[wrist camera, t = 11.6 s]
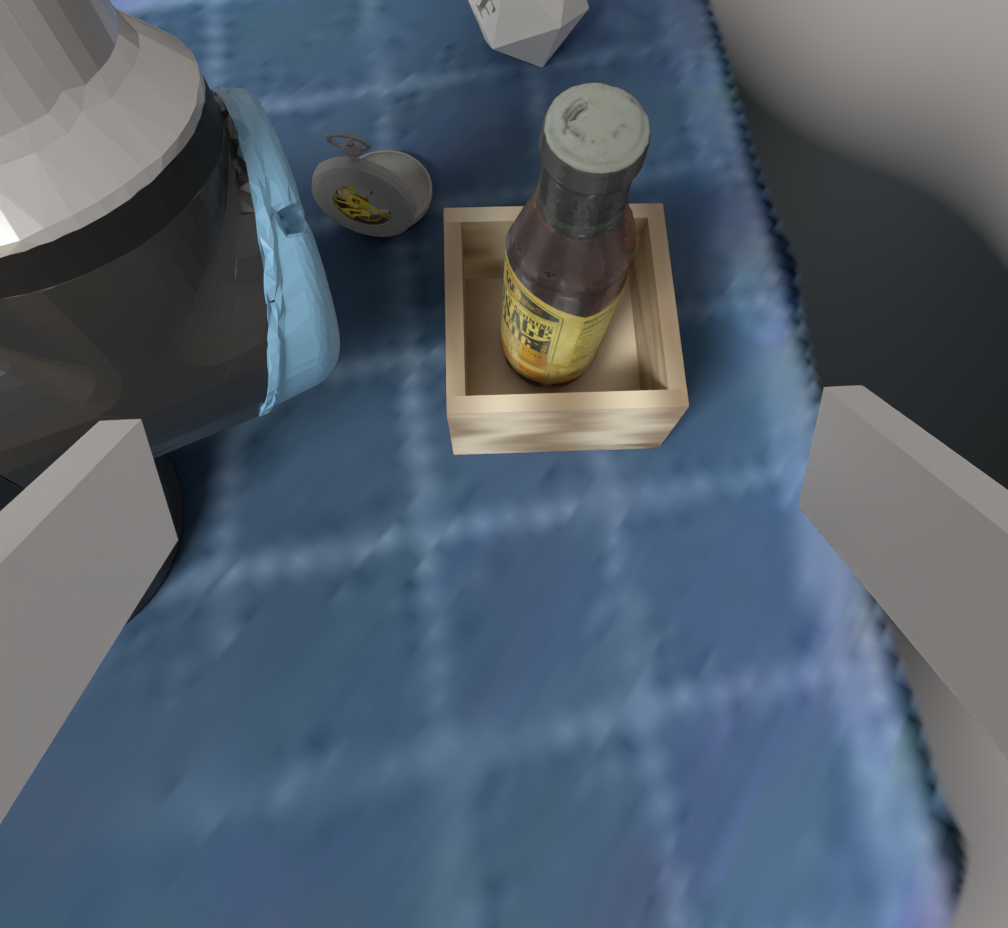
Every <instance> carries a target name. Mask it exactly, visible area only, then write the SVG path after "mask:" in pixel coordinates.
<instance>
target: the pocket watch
mask: <svg viewBox="0 0 1008 928" xmlns="http://www.w3.org/2000/svg"><path fill="white" fill-rule="evenodd" d="M333 137H343V138H348V139H346V141H345V142H344V143H343V144H339V143H337V142H335V141H333V140H332V139H331V138H333ZM326 139H327V141H328V142H329V143H331V144H332V145H335V146H337V147H340V148H341V149H342V151H343V152H344V153H346V154H347V155H349V157H345V156H339V157H334V158H329V159H327V160H325V161H323V162H321V163H319V165H318V166H317V168H316V169H315V171H314V173H313V177H312V193H313V196H314V199H315V201H316V203H317V204H318V206H319V207H320V208H321V209H322V211H323V212H324V213H325V214H326V215H328V216H329V217H330V218H331V219H332V220H334V221H335V222H337V223H338V224H340V225H342V226H344V227H346V228H348V229H350V230H352V231H355V232H358V233H361V234H364V235H369V236H375V237H390V236H395V235H398V234H401V233H403V232H404V231H406V230H407V229H408V227H410V226H412V225H413V224H415V223H416V222H418V221H419V220H420V219H421V218H422V217H423V216H424V215H425V213H426V212H427V210H428V208H429V207H430V203H431V200H432V181H431V178H430V175H429V173H428V171H427V169H426V168H425V167H424V166H423V165H422V164H421V162H419V161H418V160H416V159H415V158H413V157H412V156H410V155H408V154H406V153H403V152H399V151H394V150H380V151H374V152H370V153H367V154H365V155H363V156H360V157H358V155H360V154H361V153H362V151H367V150H369V149H370V148H371V145H370V143H368V142H367V141H365V140H363V139H361V138H359V137H356V136H353V135H348V134H343V133H332V134H328V135H327V136H326ZM354 140H356V141H358V142H360V143H363V144H364V145H366V146H365V147H361V146H360V145H359V144H357V143H355V142H354Z"/></svg>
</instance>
